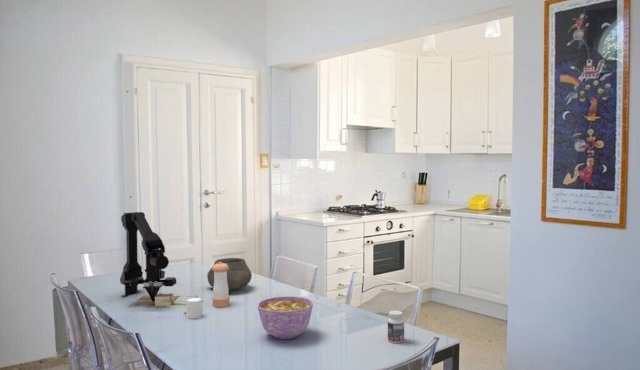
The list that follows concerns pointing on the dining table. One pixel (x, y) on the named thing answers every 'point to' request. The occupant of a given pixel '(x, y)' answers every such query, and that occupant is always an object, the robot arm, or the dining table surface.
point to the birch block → (164, 299)
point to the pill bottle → (395, 327)
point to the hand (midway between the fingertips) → (153, 301)
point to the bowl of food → (285, 315)
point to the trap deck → (152, 304)
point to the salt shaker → (220, 286)
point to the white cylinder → (194, 307)
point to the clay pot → (233, 273)
